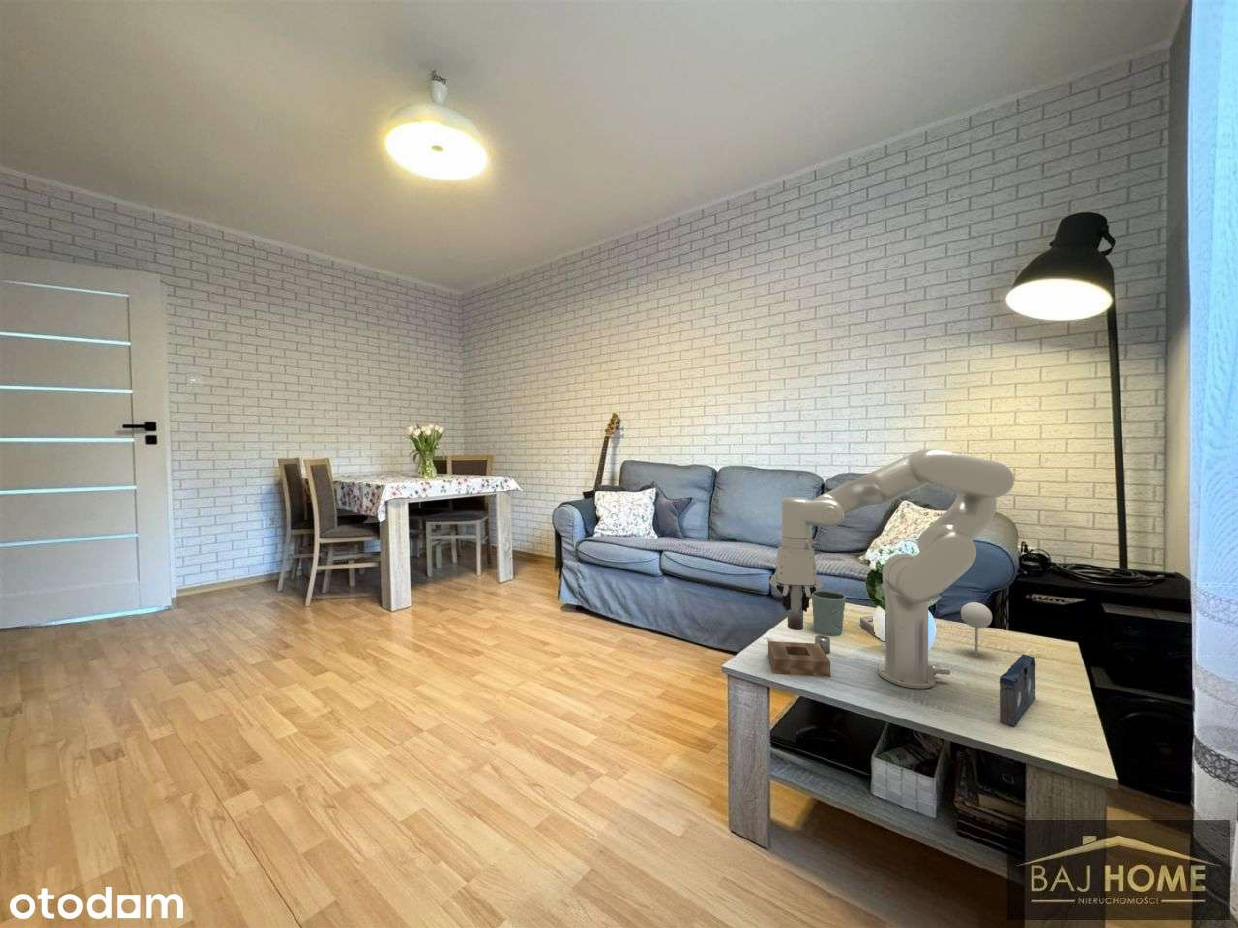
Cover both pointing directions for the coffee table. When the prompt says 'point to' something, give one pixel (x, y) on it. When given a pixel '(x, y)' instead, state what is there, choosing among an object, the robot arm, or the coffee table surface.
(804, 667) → the hole block
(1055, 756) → the coffee table surface
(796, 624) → the tall pin
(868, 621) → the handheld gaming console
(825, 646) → the short pin
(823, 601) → the grey green cup
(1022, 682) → the vhs cassette tape
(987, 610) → the lollipop
